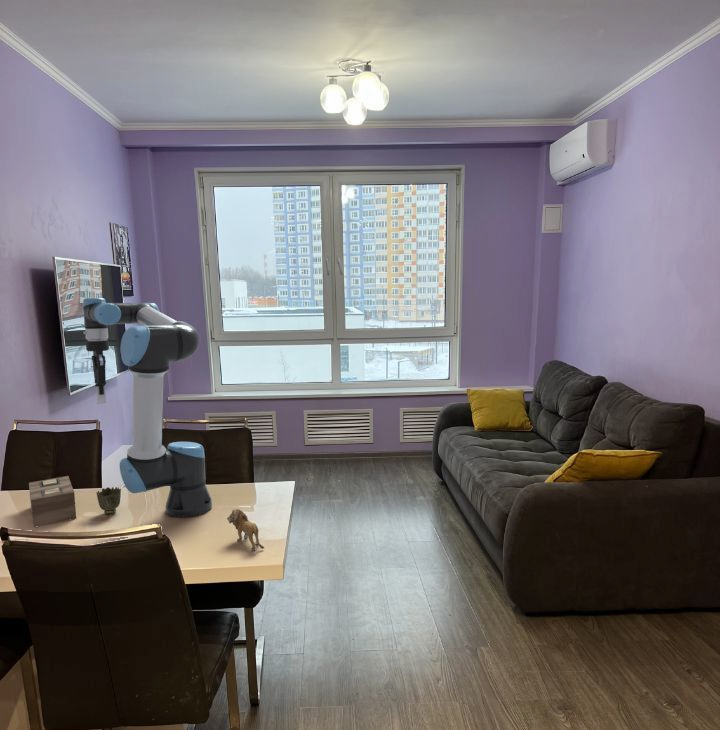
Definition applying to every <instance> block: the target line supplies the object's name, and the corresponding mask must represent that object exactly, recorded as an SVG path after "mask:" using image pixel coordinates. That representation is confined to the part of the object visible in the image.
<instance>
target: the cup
mask: <svg viewBox="0 0 720 730" xmlns="http://www.w3.org/2000/svg"><path fill="white" fill-rule="evenodd" d="M95 493H96V497H97V502H98V506H99V508H100V509H101V510H102V511H103V513H104V514H105V515H106V516H110V514H111V515H114V514H115V513H117V508H119V506H120V504H121V495H122V488H119V487H117V486H116V487H115V488H114V486H112V487H111V488H110V487H106V488H102V489H101V491H100V490H97V492H95Z"/></svg>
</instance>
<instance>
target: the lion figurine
mask: <svg viewBox="0 0 720 730" xmlns="http://www.w3.org/2000/svg"><path fill="white" fill-rule="evenodd" d="M226 520H227V521H228V523H229V524H232V525H233V526H234V527H235V529H236V530H237V534H238V537H239V538H237V539H236V541H237V542H238V543H239V542H242V541H243V538H244V539H247V538H248V540H249V542H250V544H251V546H252V547H251V548H250V549H251V551H256V545H258V546H259V548H260V549H265V546H264V545H262V544H260V540H259V528H258V526H257V524H256V523H254V522H252V521H250V520H249V518H248V516H247V515H246V513H244V512H243V511H242V510H241V509H239V508H234V509H232V510H231V513H230V514H229V516H227V518H226ZM242 533H244V536H243V535H242ZM253 536H254V537H255V542H254V537H253Z"/></svg>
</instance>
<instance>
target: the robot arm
mask: <svg viewBox="0 0 720 730" xmlns="http://www.w3.org/2000/svg"><path fill="white" fill-rule="evenodd" d="M82 310H83V311H82V312H83V321H84V322H83V324H84V331H83V335H85V339H86V341H85V350H86V351H87V352H92V356H91V361H92V367H93V368H92V369H93V370H92V371H93V378H94V387H95V388H96V390H95V391H96V401H97V402H96V403H97V404H106V403H107V399H106V398H107V397H106V384H107V379H106V361H107V360H106V356H105V355H104V352H106V351H109V350H110V343H109V340H108V339H109V330H108V329H109V328H108V325H109V326H112V325H126V324H127V325H128V324H129V325H130V324H137V325H135V326H129V327H128V328H127V329H125V331H124V333H123V335H122V337H121V342H120V350H119V351H120V355H121V360H122V363H123V364H124V365H125V366H127V369H128V371H129V372H130V373H131V374H132V375H133V376H132V377H133V383H132V385H133V388H132V390H133V392H132V444H131V446H130V447H129V448H128V449H127V450H126V451H127V452H126V457H123V458H122V459H120V461H119V473H120V475H121V479H122V482H123V484H124V486H125V488H126V489H127V491H128V492H130V493H131V494H140V493H147V492H149V491H152V490H157V489H159V488H163V487H168V486H169V493H168V495H167V496H168V497H167V500H166V503H165V514H166V515H168V516H170V517H173V518H191V517H196V515H197V516H200V515H203V514H204V512H205V513H207V512H208V510H209V509H210V508H211V507H212V508H213V503H212V502H213V501H212V497H211V496H210V491H209V489H208V487H207V485H206V484H207V483H206V462H205V461H206V456H205V448H204V446H203V445H202V444H200V443H198V442H193V441H176V442H175V441H173V442H170V443H168V445H167V448H166V447H165V445H163V444H162V442H163V408H164V407H163V406H164V405H163V403H164V377H165V376H164V375H165V374H166V373H167V372H168V371H170V363H175V362H182V361H185V360H187V359H189V358H191V357H192V356H193V355H195V353H196V352H197V350H198V348H199V346H200V335H199V332H198V331H197V329H196V328H195V327H194V326H193V325H191V324H189V323H187V322H185V321H177V320H175V319H173V318H171V317H170V316H168V315H166V314H164V313H163V312H160V309H159V307H158V305H157V304H156V303H153V302H106V299H105V298H103V297H85V298H84V299H83V300H82ZM212 508H211V509H212ZM211 509H210V510H211ZM210 510H209V511H210ZM206 511H207V512H206ZM202 513H203V514H202ZM199 514H200V515H199Z"/></svg>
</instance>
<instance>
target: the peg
mask: <svg viewBox="0 0 720 730" xmlns="http://www.w3.org/2000/svg"><path fill="white" fill-rule="evenodd" d="M52 479H53V478H52ZM46 480H47V479H46ZM56 483H57V481H56V479H53V480H47V481H43V486H45V485H51V484H56Z"/></svg>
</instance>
